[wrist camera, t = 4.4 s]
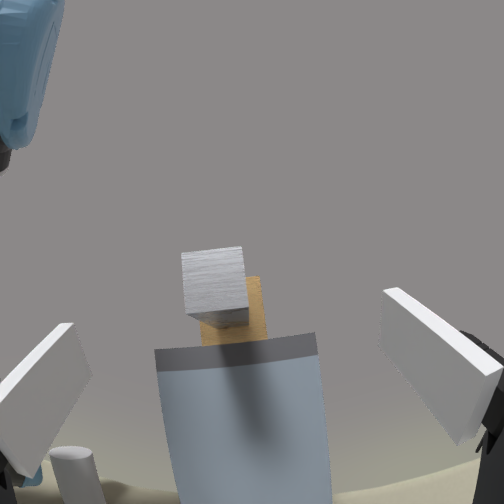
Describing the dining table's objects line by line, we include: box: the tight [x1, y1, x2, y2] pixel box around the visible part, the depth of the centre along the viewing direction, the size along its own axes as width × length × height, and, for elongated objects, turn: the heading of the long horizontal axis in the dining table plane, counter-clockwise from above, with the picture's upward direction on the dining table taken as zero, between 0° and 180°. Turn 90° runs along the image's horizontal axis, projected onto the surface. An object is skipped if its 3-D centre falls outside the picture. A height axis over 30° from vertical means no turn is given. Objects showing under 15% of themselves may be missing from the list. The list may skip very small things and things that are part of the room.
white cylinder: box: [49, 446, 106, 504], centre depth 34 cm, size 8×8×12 cm
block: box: [181, 246, 268, 346], centre depth 26 cm, size 24×6×6 cm, turn 0°
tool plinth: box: [155, 332, 332, 504], centre depth 28 cm, size 16×14×30 cm
